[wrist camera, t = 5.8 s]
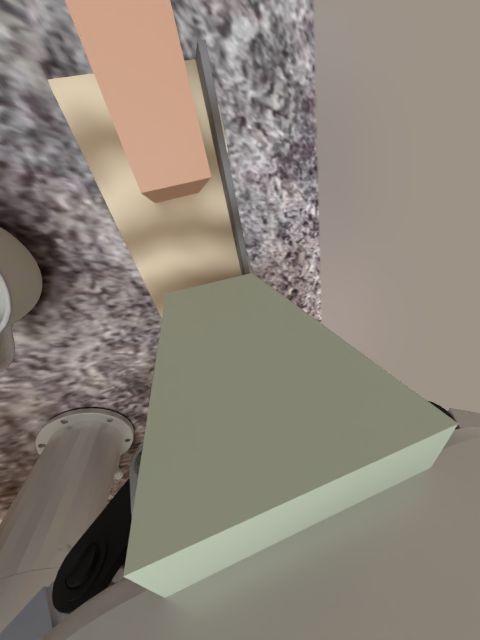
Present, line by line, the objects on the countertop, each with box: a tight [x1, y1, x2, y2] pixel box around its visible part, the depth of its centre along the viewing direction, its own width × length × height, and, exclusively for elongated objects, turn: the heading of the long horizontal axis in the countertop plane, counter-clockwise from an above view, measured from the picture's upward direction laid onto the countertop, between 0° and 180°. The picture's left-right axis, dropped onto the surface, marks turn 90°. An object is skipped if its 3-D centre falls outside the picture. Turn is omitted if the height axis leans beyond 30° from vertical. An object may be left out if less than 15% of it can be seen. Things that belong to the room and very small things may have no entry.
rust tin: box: [65, 0, 211, 203], centre depth 14 cm, size 5×8×9 cm, turn 13°
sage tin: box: [123, 273, 458, 598], centre depth 8 cm, size 5×8×9 cm, turn 9°
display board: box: [48, 40, 251, 318], centre depth 22 cm, size 25×12×3 cm, turn 13°
